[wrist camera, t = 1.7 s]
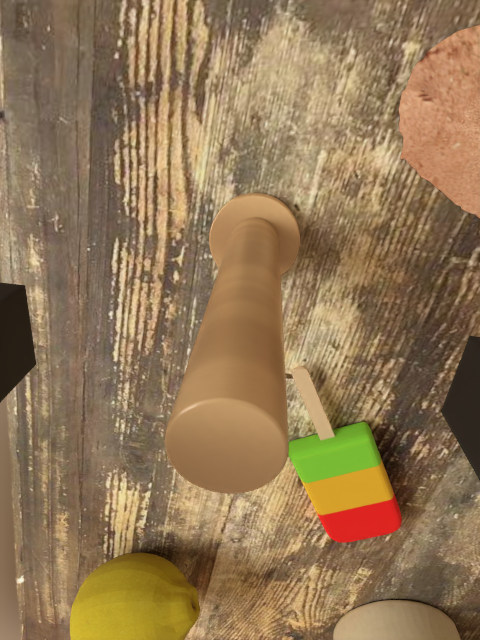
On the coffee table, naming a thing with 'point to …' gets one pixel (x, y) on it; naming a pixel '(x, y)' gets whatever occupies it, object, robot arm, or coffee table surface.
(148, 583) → the lemon
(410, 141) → the clay slab
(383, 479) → the popsicle
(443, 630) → the sugar bowl
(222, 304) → the stick
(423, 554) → the coffee table surface
